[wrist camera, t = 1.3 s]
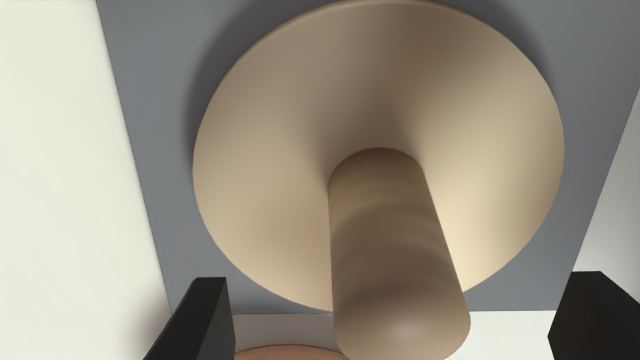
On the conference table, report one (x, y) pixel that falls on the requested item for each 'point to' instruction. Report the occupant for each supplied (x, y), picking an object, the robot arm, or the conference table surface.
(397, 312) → the lid
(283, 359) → the bowl
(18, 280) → the conference table surface
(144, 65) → the mat
